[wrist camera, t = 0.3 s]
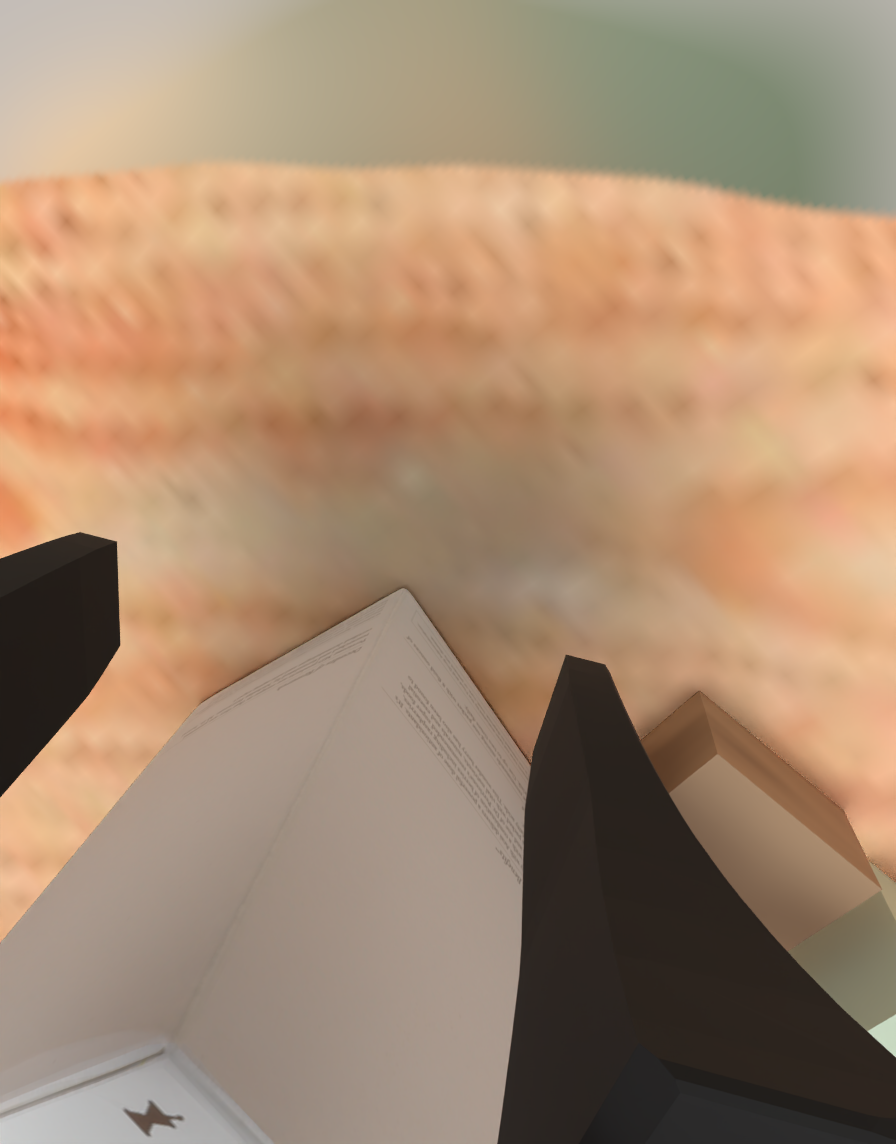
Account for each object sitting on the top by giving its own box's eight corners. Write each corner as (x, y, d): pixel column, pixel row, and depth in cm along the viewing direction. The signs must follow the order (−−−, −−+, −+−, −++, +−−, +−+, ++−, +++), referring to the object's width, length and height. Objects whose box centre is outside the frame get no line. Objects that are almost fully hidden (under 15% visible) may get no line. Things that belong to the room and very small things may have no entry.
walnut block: (696, 910, 26) (713, 1000, 23) (561, 804, 26) (559, 881, 22) (841, 805, 24) (882, 889, 21) (698, 686, 23) (717, 754, 20)
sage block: (850, 1007, 27) (908, 1162, 22) (753, 932, 26) (792, 1075, 22) (964, 938, 25) (1052, 1090, 20) (864, 856, 24) (931, 993, 20)
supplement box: (188, 702, 26) (-246, 1195, 12) (408, 578, 23) (163, 1037, 10) (344, 898, 28) (123, 1506, 14) (563, 806, 25) (548, 1453, 12)
